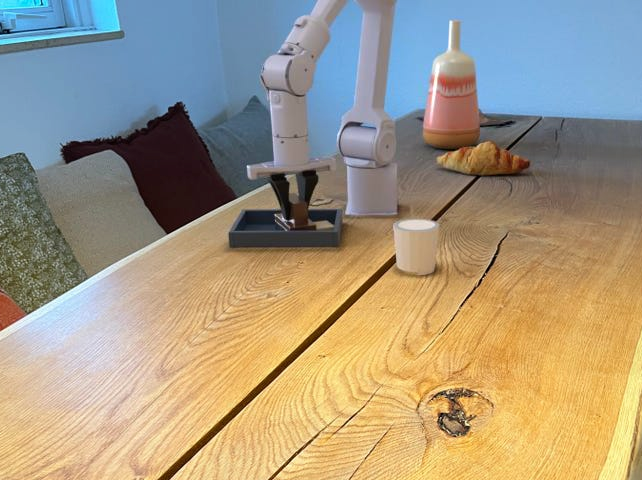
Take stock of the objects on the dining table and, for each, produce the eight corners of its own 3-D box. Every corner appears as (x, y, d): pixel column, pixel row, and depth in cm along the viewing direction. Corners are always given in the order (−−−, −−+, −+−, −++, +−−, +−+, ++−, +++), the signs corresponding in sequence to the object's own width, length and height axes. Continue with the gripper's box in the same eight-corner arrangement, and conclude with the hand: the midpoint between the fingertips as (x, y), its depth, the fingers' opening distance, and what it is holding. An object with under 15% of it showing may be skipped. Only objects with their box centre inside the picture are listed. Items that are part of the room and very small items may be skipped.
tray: (342, 225, 141) (342, 208, 139) (338, 250, 128) (337, 231, 127) (243, 226, 141) (241, 209, 139) (229, 250, 128) (228, 232, 127)
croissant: (433, 186, 179) (428, 158, 173) (443, 157, 185) (439, 128, 179) (527, 191, 173) (526, 162, 167) (534, 160, 179) (533, 131, 172)
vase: (488, 144, 204) (495, 19, 191) (462, 154, 194) (467, 22, 180) (439, 139, 211) (442, 18, 198) (411, 148, 201) (412, 21, 187)
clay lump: (327, 227, 138) (326, 220, 137) (335, 233, 135) (334, 226, 134) (305, 229, 137) (304, 223, 136) (312, 236, 133) (312, 229, 133)
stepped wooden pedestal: (300, 225, 139) (298, 190, 136) (317, 240, 131) (315, 203, 129) (275, 228, 137) (272, 193, 134) (291, 243, 130) (288, 206, 127)
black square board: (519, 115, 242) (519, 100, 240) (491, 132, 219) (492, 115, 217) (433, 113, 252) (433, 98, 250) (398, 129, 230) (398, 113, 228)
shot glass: (443, 264, 122) (445, 219, 119) (431, 279, 116) (432, 233, 113) (401, 259, 124) (401, 216, 121) (387, 274, 118) (386, 228, 115)
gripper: (324, 127, 133) (327, 206, 139) (239, 134, 128) (246, 216, 134) (339, 134, 127) (342, 217, 133) (251, 142, 122) (257, 227, 128)
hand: (295, 217), depth 133 cm, fingers closed on stepped wooden pedestal, 2 cm apart
